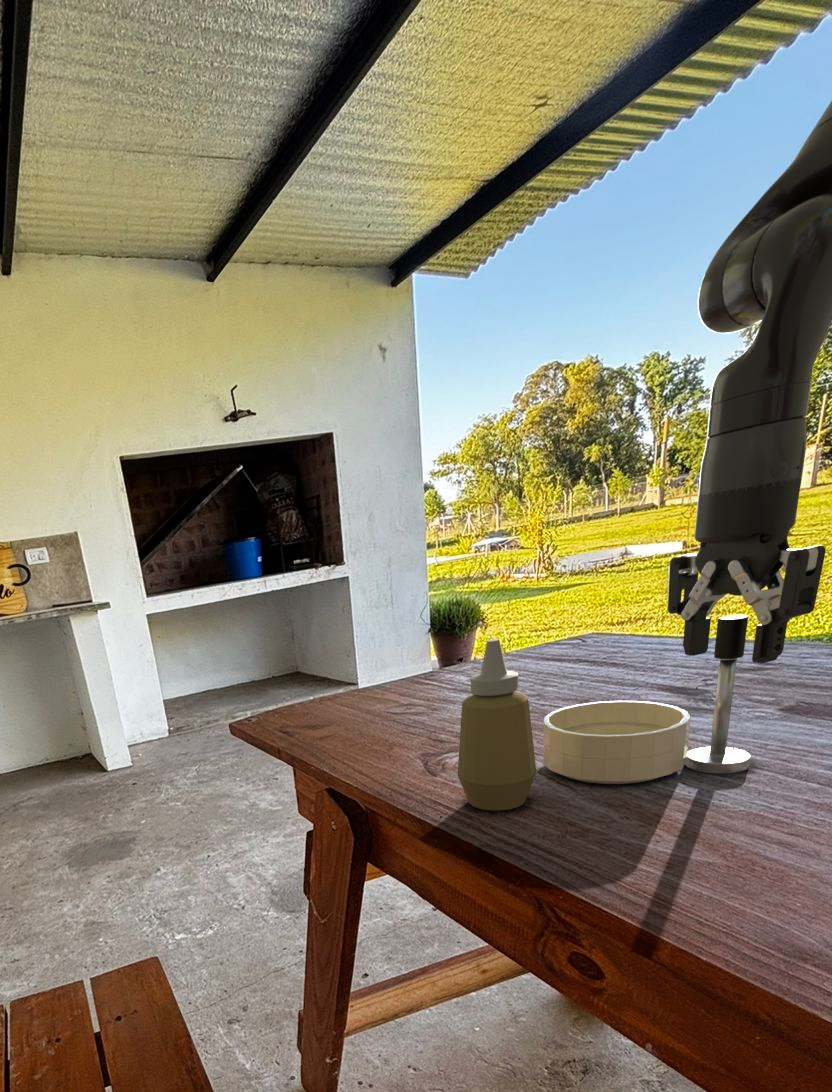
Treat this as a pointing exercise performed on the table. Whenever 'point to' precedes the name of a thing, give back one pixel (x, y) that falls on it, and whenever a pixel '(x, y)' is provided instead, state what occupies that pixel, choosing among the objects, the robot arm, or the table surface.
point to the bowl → (616, 741)
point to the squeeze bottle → (496, 737)
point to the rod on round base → (723, 702)
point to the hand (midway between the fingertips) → (728, 657)
